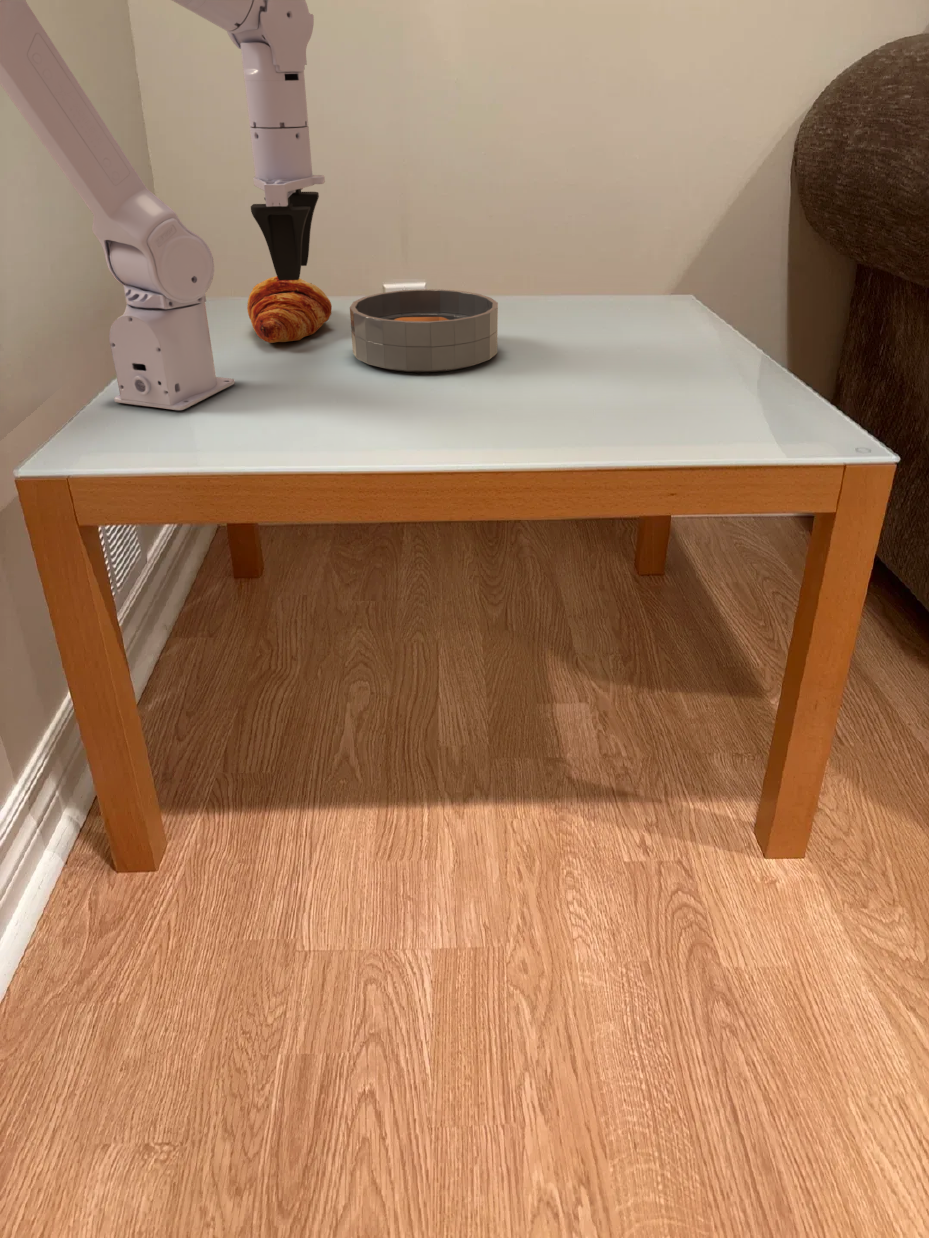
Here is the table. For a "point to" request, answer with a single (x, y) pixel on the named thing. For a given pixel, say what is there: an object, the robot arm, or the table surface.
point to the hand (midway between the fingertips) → (293, 272)
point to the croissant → (287, 309)
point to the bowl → (424, 330)
